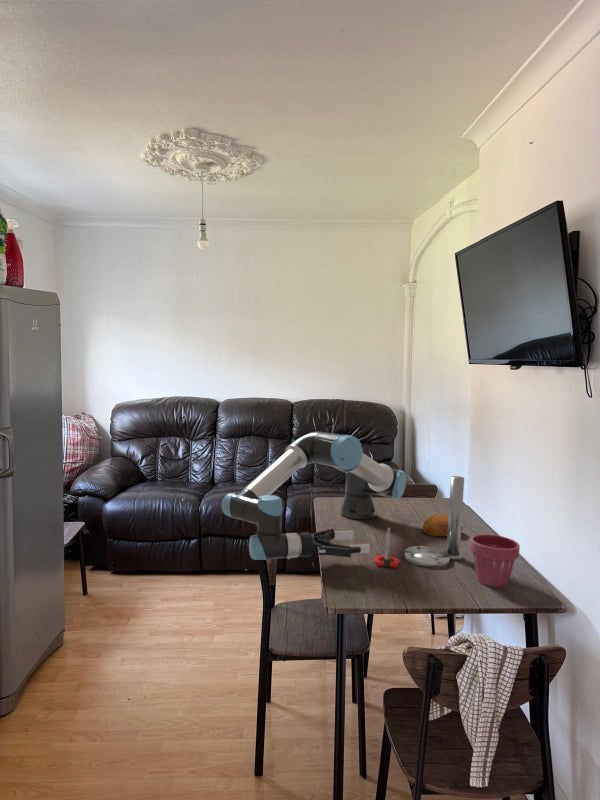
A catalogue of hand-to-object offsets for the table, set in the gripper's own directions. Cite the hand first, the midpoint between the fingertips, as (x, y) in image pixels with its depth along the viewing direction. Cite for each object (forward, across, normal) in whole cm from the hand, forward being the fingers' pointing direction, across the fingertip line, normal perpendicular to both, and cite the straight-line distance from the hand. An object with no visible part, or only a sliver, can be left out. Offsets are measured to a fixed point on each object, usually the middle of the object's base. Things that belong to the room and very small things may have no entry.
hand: (360, 541), depth 184 cm
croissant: (+46, -26, -8) cm, 53 cm away
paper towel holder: (+28, 0, -8) cm, 29 cm away
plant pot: (+36, +21, -8) cm, 42 cm away
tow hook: (+10, 0, -8) cm, 13 cm away
